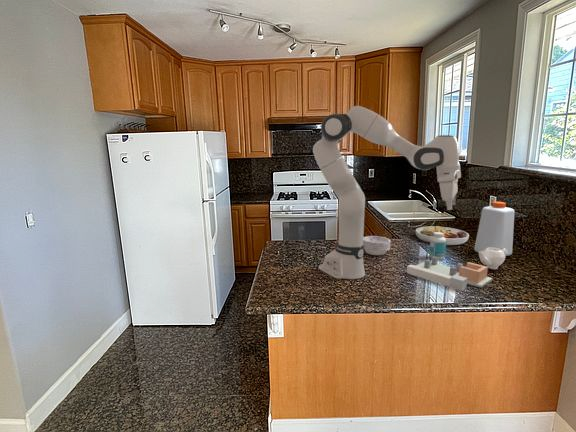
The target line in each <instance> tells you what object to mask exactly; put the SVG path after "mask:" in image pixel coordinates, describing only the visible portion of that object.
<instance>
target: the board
mask: <svg viewBox="0 0 576 432" xmlns="http://www.w3.org/2000/svg"><path fill="white" fill-rule="evenodd" d="M438 261H439V260H438V257H432V259H431V260H429V259H426V260H424V261H423V262H421V263H417V265H415V266H418V267H422V268H425V269H428V270H432V271H435V272H439V273H442V274H446V275H449V276H454V275H458V276H462V277H465V278H467V285H471V286H473V287H478V288H481V289H482V288H483V287H485V286H486V285H487V284H490V283H491V282H492V281H493V277H489V276H488V270H489V268H488V267H486V265H482V264H477V263H474V262H469V261H468V262H466V266H464V263H461V262H458V263H457V264H456V266H449V265H445V264H442V263H438Z"/></svg>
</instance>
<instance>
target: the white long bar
mask: <svg viewBox="0 0 576 432" xmlns="http://www.w3.org/2000/svg"><path fill="white" fill-rule="evenodd" d="M406 274H408V275H412V276H414V277H418V278H421V279H424V280H427V281H432V282H434V283H437V284H440V285H444V286H446V287H448V288H451V289H454V290H458V291H461V292H462V291H464V290H466V289H467V286H468V284H467V278H465V277H462V276H458V275H454V276H449V275H446V274H442V273H439V272H435V271H432V270H428V269H425V268H422V267H418V266H416V265H414V264H409V265H407V266H406Z"/></svg>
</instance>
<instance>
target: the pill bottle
mask: <svg viewBox="0 0 576 432" xmlns="http://www.w3.org/2000/svg"><path fill="white" fill-rule="evenodd" d="M443 236H444V233H441V232H434V236H433V237H431V239H430V243H429V252H428V257H429V258H430V259H431V260H432V257H438V261H442V260H444V259H445V256H446V247H447V245H446V239H445V238H444V237H443Z"/></svg>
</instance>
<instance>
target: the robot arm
mask: <svg viewBox="0 0 576 432" xmlns="http://www.w3.org/2000/svg"><path fill="white" fill-rule="evenodd" d="M320 131H321V135H322V136H321V139H319V140H318V141H316V143H314V145H313V147H312V152H313V156H314V159H315V161H316V163H317V166H318V168H319V169H320V172H321V173H322V175H323V177H324V179H325V181H326V183H327V185H328V186H329V187H330V188H331V190H332V192H333V193H334V194H335V196H336V198H337V199H338V240H337V241H338V242H336V243H334V244H333V247H335V249H334V250H332V251H331V252H329V253H328V254H326V255H325V256H324V259H323V263H321V264H319V265H318V270H320V271H322V272H323V273H326V274H327V275H329V276H330V277H333V278H334V279H339V280H340V279H345V280H346V279H347V280H356V279H361V278H363V277H365V276H366V272H365V267H364V266H365V264H364V254H365V249H364V244H363V237H365V236H364V233H365V209H366V196H365V193H364V191H363V190H362V188H361V186H360V185H359V183H358V181H357V180H356V178H355V176H354V175H353V174H352V172H351V170H350V168H349V166H348V164H347V162H346V161H345V159H344V157H343V155H342V153H341V151H340V149H339V145H338V144H339V143H340V142H341V141H343V139H344V138H345V137H346V136H347V134H349V133H353V134H357V136H360V137H361V138H363V139H365V140H366V141H369V142H371V143H373V144H377V145H380V146H384V147H388V148H390V149H392V150H393V151H395V152H397V153H398V154H400V155H402V156H403V157H404V158H406V160H407V161H408V163H409V165H411V167H413V168H415V169H416V170H417V169H418V170H422V171H428V170H431V169H434V168H436V175H437V176H436V177H437V178H436V179H437V183H439V189H440V195H441V199H442V201H444V202H445V204H446V210H447V211H451V210H453V206H455V205H456V195H457V194H458V189H459V187H458V182H459V179H461V177H462V172H461V171H462V170H461V164H460V147H459V143H458V139H457V138H456V136H454V135H452V134H451V135H448V134H447V135H445V134H444V135H443V134H442V135H441V134H440V135H437V136H436V137H435V138H433V139H432V140H431V141H429V142H428V143H426V144H425V145H417V144H413V143H412V142H410V141H409V140H407V139H405V138H404V137H402V136H401V135H399V134H398V133H397V132H396V130H395V129H394V127H393V125H392V124H391V123H390V121H388V120H387V119H386V118H385V117H383V116H382V115H380V114H378V113H376V112H375V111H373V110H371V109H368V108H366V107H364V106H361V105H354V106H352V107H351V108H350V109H349V111H348V112H347V113H332V114H329V115H327V116H326V117H325V118H324V119H323V120H322V122H321V126H320Z"/></svg>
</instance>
